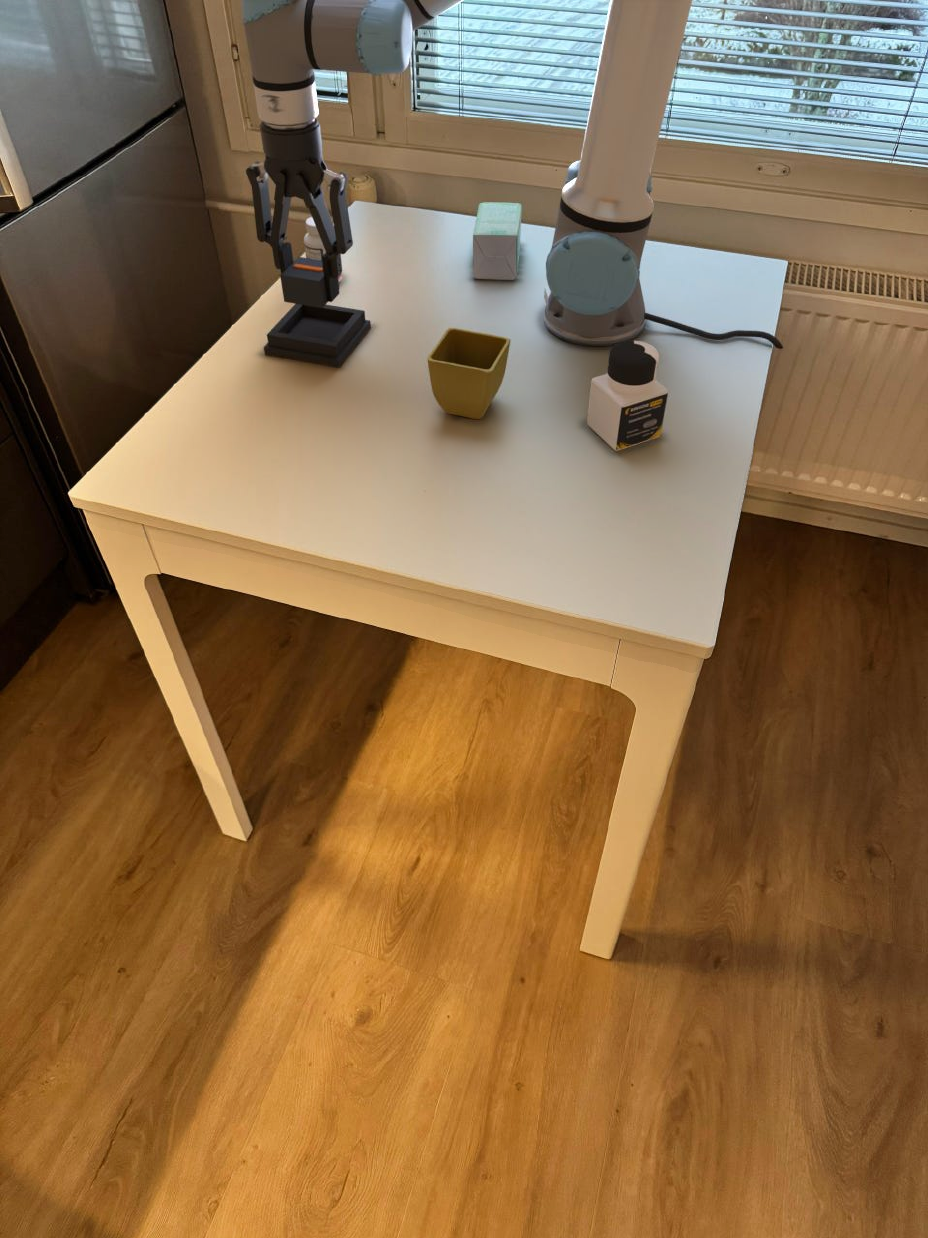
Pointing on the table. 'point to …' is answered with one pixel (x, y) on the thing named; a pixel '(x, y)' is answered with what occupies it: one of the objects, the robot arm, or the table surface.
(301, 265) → the dark grey square block
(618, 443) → the medicine bottle
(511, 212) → the box
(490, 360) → the flower pot
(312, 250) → the pill bottle
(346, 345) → the base pad
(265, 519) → the table surface
